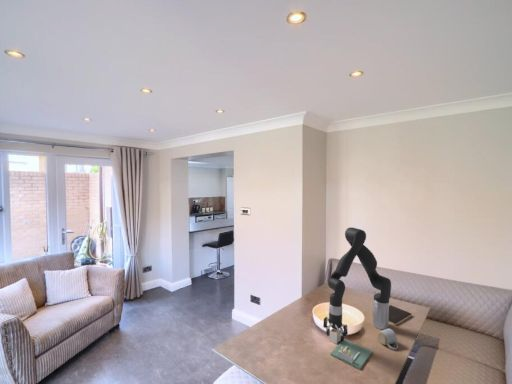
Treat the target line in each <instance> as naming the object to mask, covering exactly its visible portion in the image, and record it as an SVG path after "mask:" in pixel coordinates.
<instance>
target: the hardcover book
mask: <svg viewBox="0 0 512 384" xmlns="http://www.w3.org/2000/svg"><path fill="white" fill-rule="evenodd" d="M412 314H413V313H411V312H409V311H406V310H403V309H402V308H399V307H397V306H394V305H392V304H391V305H390V304H389V322H388V324H390V325H393V326H396V325H398V324H400V323H402V322H403V321H405V320H407V319H409V318H410V317H412Z"/></svg>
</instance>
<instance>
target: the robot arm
mask: <svg viewBox="0 0 512 384" xmlns="http://www.w3.org/2000/svg"><path fill="white" fill-rule="evenodd" d="M344 237H345V240H346V241H347V242H348V244H349V246H350V248H349V250H348V251H346V253H344V255H343V256H342V257H340V258H339V261H338V263H337V265H336V268H335V270H334V271H333V272H332V274H331V275H330V276H329V278H328V281H327V285H328V287H329V288H330V289H331V290H333V291H334V292H332V293H330V294H329V304H328V305H329V306H328V307H329V308H328V316H325V317H324V318H323V328H325V329H326V332H325V334H326V336H328V337H330V331H331V329H333V328H334V329H336V330H338V332H339V333H340V334H341V336H340V343H341V342H342V341H344V339H345V337H346V336H347V335H348V333H349V332H348V325H347V324H343V299H344V298H343V297H344V295H345V291H346V284H345V282H344V281H343V280H341V278H342V277H344V278H346V277H347V276H348V274H349V271H350V269H351V266H352V264H353V262H354V260H355V258H356V257H357V258H358V260H359V262H360V264H361V265H362V267H363V269H364V271H365V272H366V274H367V276H368V279H369V281H370V284H371V286H372V287H373V288H374V289H376V290H378V291H380V293H379V292H378V293H375V294H373V309H372V310H373V311H372V325H373V326H374V328H376V329H379V330H382V331H383V330H385V329H389V323H388V322H389V306H390V298H391V294H392V293H391V292H392V281H391V279H390V278H389V277H386V276H383V275H380V274H379V273H378V272H377V270H376V269H377V267H378V261H377V258H376V257H375V255H374V254H373V252H372V251H371V250H370V249H369V248H368V247H367V246H366V245H364V244H365V242H366V239H367V233H366V231H365V230H364V229H361V228H357V227H348V228H346V230H345V232H344ZM328 323H329V324H328ZM330 328H331V329H330Z"/></svg>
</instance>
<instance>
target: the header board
mask: <svg viewBox="0 0 512 384" xmlns="http://www.w3.org/2000/svg"><path fill="white" fill-rule="evenodd" d="M372 353H373V351H372V350H371V349H369V348H367V347H365V346H362V345H359V344H357V343H355V342H353V341H351V340H348V339H346V338H344V341H342V342H341V341H340V342H339V343H338V345H337V346H336V347H335V348H334V349H333V350H332V351H331V352H330V356H332V357H334V358H336V359H338V360H339V361H342V362H344V363H345V364H347V365H349V366H352V367H353V368H356V369H358V370H361V369H362V368H363V366H364V365H365V363H366V362H367V360H368V359H369V358H370V356H371V354H372Z"/></svg>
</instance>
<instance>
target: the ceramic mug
mask: <svg viewBox="0 0 512 384" xmlns="http://www.w3.org/2000/svg"><path fill="white" fill-rule="evenodd" d="M377 339H378V341H379V342H380V344H382V345H383V346H387V347H388V348H389V349H391V350H394V351H395V350H398V347H399V344H398V342H397V341H398V337H397V335H396V332H395V331H394V330H393V329H391V328H388V329H385V330H383V329H382V330H379V332H377ZM393 344H394V345H395V346H396V347H393V346H391V345H393Z"/></svg>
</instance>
